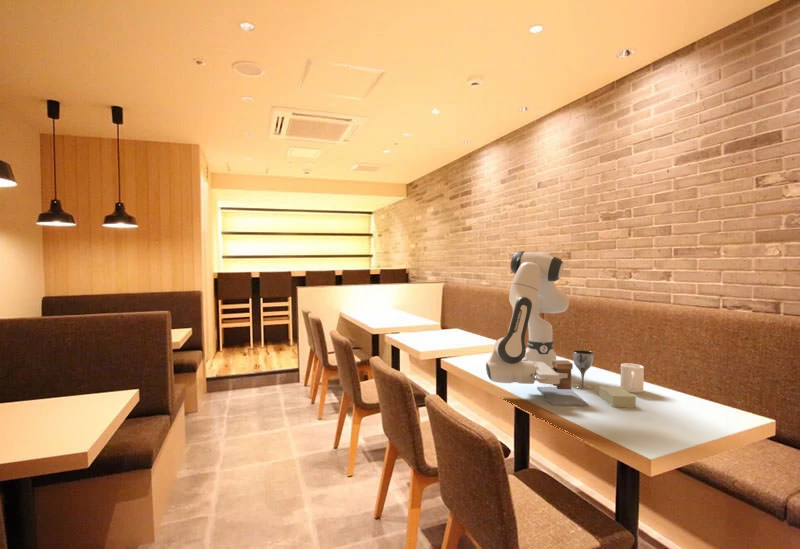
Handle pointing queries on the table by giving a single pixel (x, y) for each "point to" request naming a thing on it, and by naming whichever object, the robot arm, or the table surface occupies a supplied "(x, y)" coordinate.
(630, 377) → the mug
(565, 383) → the stool
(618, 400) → the pale olive rectangular block
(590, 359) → the wine glass
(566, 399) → the mat
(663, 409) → the table surface
